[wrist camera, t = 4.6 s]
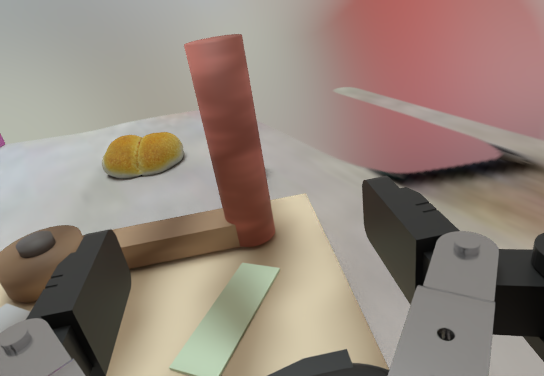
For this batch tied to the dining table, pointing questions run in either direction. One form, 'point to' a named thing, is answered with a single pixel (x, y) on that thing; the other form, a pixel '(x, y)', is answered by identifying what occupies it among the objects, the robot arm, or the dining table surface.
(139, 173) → the bread roll
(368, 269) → the dining table surface
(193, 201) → the dining table surface
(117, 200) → the dining table surface
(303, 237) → the board
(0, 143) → the gum box
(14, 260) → the lever
